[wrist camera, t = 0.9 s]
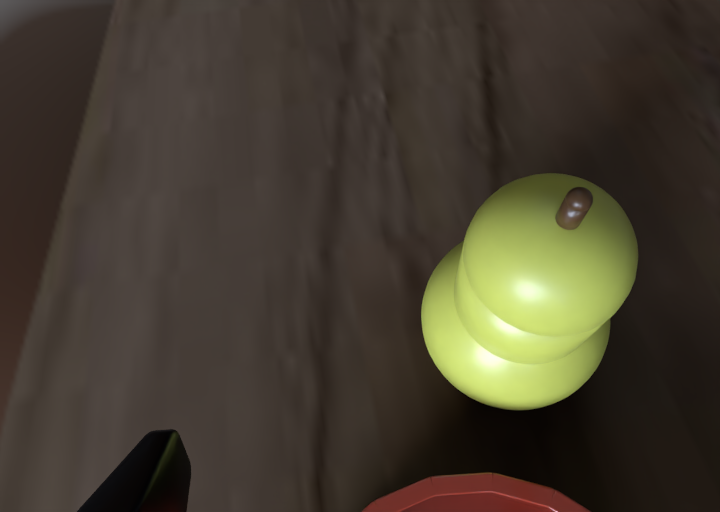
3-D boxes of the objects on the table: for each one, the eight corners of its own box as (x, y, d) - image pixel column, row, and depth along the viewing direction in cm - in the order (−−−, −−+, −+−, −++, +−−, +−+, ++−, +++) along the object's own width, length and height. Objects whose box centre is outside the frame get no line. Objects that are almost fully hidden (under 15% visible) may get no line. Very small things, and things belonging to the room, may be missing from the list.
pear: (609, 385, 23) (810, 266, 12) (459, 449, 23) (518, 387, 11) (530, 248, 26) (632, 41, 14) (394, 302, 25) (388, 130, 14)
